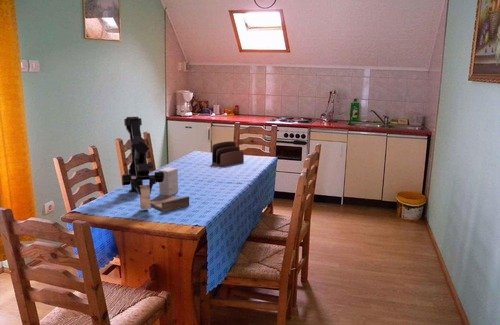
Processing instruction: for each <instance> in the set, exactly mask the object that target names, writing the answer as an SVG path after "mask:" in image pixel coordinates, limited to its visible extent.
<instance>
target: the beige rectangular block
mask: <svg viewBox="0 0 500 325" xmlns="http://www.w3.org/2000/svg"><path fill="white" fill-rule="evenodd" d="M139 187H140V191H141V195H139V202H140V203H139V204H140V209H141V211H142V210H151V208H152V206H151V202H150V200H151V194H150V187H149V184H143V185H139Z"/></svg>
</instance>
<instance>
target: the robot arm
mask: <svg viewBox="0 0 500 325" xmlns="http://www.w3.org/2000/svg"><path fill="white" fill-rule="evenodd" d="M142 121H143V120H142V118H141V117H139V116H126V118H124V121H123V123H124V127H125V129H126V132H128V134H129V142H130V143H129V144H130V155H131V161H130V164H129V168H128V171H127V173H125V174H122V175H121V184H122V186H129V185H130V187H131V189H129V190H128V192H132V193H138V194H139V196H140V195H141V191H140V187H139V185H144V181H148V180H149V181H148V182H149V183H148V185H149V187H150V195H151V194H152V189H153V187H154V185H156V183H159V182H163V180H164V173H163V172H159V171H154V174H151V175H150V170H153V169H154V164H153V161H148V159H147V158H148V155H149V154H148V153H149V150H150V147H149V145H148V143H146V140H145V139H144V138H143V137H142V133H141V126H142V125H143V122H142Z"/></svg>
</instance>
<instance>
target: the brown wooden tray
mask: <svg viewBox="0 0 500 325" xmlns="http://www.w3.org/2000/svg"><path fill="white" fill-rule="evenodd" d="M150 202H151V207H153V208H155V209H157V210H160V211H161V212H164V213H165V212H168V211H172V210H176V209H181V208H183V207H184V208H185V207H188V206H190V196H188V195H187V196H186V195H185V196H181V197H176V196H174V195H169V196H166V195H164V196H162V197H161V196H160V197H157V198H152V199H150Z"/></svg>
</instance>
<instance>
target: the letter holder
mask: <svg viewBox="0 0 500 325" xmlns="http://www.w3.org/2000/svg"><path fill="white" fill-rule="evenodd" d="M236 145H237V144H236V141H221V142H217V143H214V144H212V145H211V146H212V147H211V148H212V149H211V160H212V161H211V163H212V165H216V166H219V167H224V166H230V165H237V164H240V163H244V162H245V159H244V158H245V156H244V154H245V153H244V151H243V150H240V147H239V146H236Z"/></svg>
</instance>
